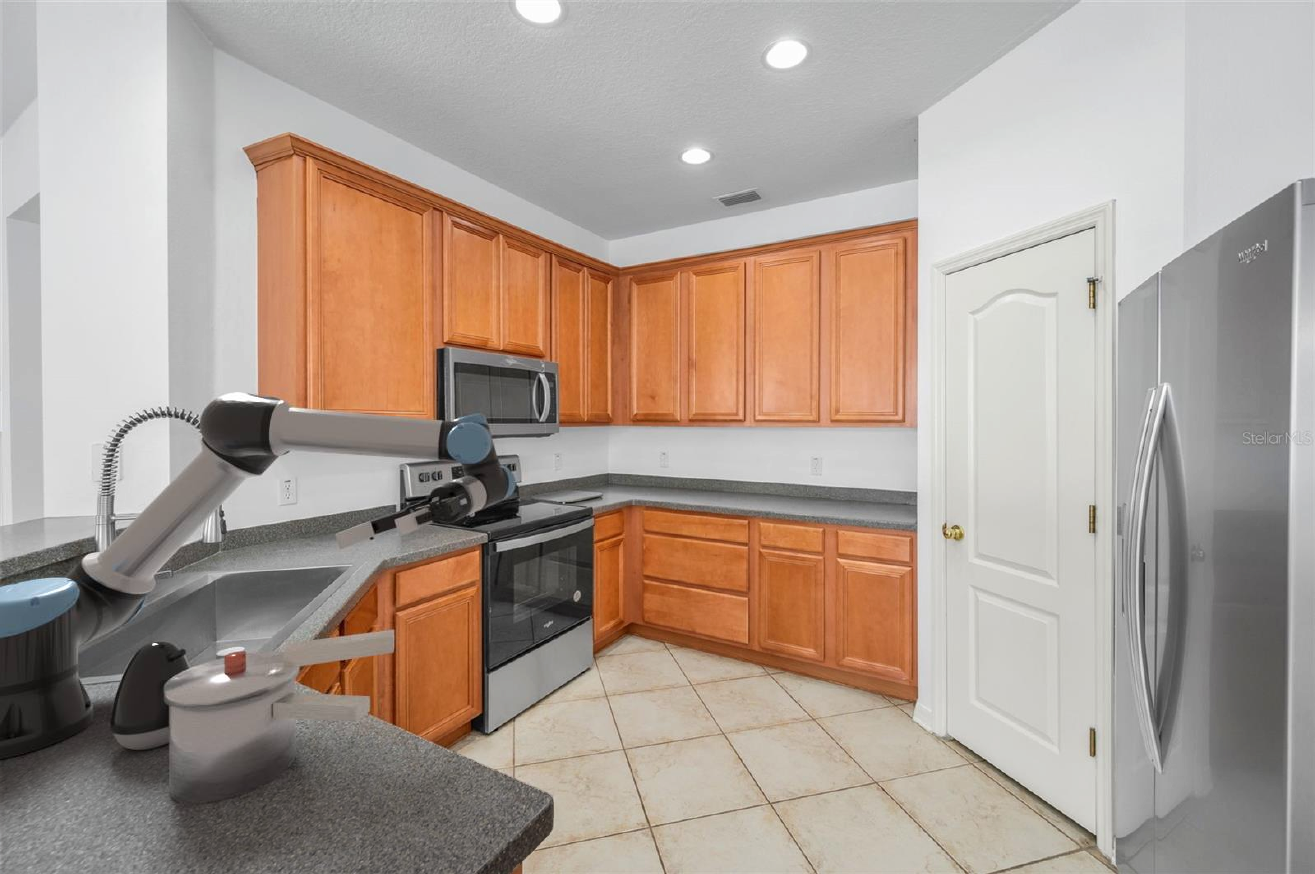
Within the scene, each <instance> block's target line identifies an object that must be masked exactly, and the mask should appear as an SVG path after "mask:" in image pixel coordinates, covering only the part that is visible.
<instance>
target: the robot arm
mask: <svg viewBox="0 0 1315 874" xmlns="http://www.w3.org/2000/svg"><path fill="white" fill-rule="evenodd" d="M199 430H200V432H201V433H200V434H201V436H202V437H201V439H200V444H201V452H199V454H198V455H197V456H196V457H194V459H193V460H192V461H190V463H189V464H188V465H187V466H186V467H185V468H184V469H182V471H181V472H180V473H179V474H177V476H175V477H174V479H173V480H172V481H171V482H170V483H169V484H168V485H167V486H166V487H165V488H164V489H163V490H162V491H161V492H160V493H159V495H157V496H156V497H155V498H154V499H153V500H152V501H151V502H150V503H149V505H147V506H146V507H145V508H144V510H143V511H142V512H140V514H139V515H138V516H137V517H136V518H135V519H134V520H133V521H132V522H131V523H130V524H129V525H128V526H127V527H126V528H125V529H124V530H123V531H122V532H121V533H120V534H119V535H118V536H117V537H116V538H115V539H113V541H112V542H111V543H110V544H109V545H108V546H107V547H106V548H105V549H104V550H103V551H96V552H90V553H88V554H86V555H85V556H84V557H83V558H81V560H80V561H79V562H78V563H77V564H76V565H75V566H74V567H73V568H72V569H71V570H70V571H69V572H68V573H67V574H66V575H65V576H64V577H45V578H35V579H30V580H29V579H28V580H25V581H19V582H18V583H15V584H6V585H3V586H0V760H3V759H8V758H13V757H16V756H20V755H23V754H27V753H30V752H33V751H36V750H40V749H43V748H46V747H49V746H51V745H54V744H56V743H59V742H62V741H63V740H66V739H69V738H70V737H73V736H74V735H76V734H78V733H80V732H81V731H83V730H85V729H86V728H87V727H88V726H90V725H91V724H92V722H93V721H94V704H93V702H92V701H91V699H90V696H89V694H88V692H87V691H86V689H85V686H84V683H82V680H81V678H80V676H79V647H82V646H83V645H86V644H87V643H89V642H92V641H93V640H96V639H98V638H100V637H103V636H104V635H107V634H110V633H113V632H115V631H117V630H119V629H120V628H122V627H125V626H126V625H127V624H128V623H129V622H131V621H132V620H133V619H135V618H136V617H137V616H138V614H140V612H142V610H143V608H144V606H145V605H146V602H147V600H148V595H149V594H150V593H151V592H152V591H153V589H155V587H156V584H157V583H156V579H155V575H156V574H157V572H158V571H160V570H161V568H162V567H163V566H164V565H165V564H166V563H167V562H168V561H169V560H170V559H171V558H172V557H173V556H174V555H175V554H176V553H177V552H178V551H179V550H180V548H181V547H182V546H184V544H185V543H186V542H187V541H188V540H189V539H190V538H191V537H193V535H194V534H195V533H196V532H197V530H199V529H200V528H201V526H202V525H203V524H204V523H205V522H206V521H207V520H208V519H209V518H210V517H211V516H212V515H213V513H215V512H216V510H217V509H219V508H220V507H221V505H222V504H223V503H224V502H225V501H226V500H227V499H228V498H229V497H230V496H231V495H232V493H234V492H235V491H236V490H237V488H238V487H240V485H241V484H242V483H243V482H244V481H245V480H247V478H250V477H251V478H253V477H260V476H262V475H263V474H264V473H265V471H267V469H269V468H270V466H272V465H273V464H274V463H275V461H277V459H278V458H279V457H281V456H284V455H287V454H289V453H290V452H291V451H292V452H294V451H295V452H307V453H308V452H309V453H321V454H323V453H324V454H338V455H353V456H355V455H356V456H365V457H366V456H370V457H381V458H383V457H384V458H396V459H397V458H398V459H412V460H413V459H416V460H428V461H429V460H430V461H442V462H453V463H454V462H455V463H460V464H461V465H460V466H461V467H462V472H463V474H464V476H463V477H459V478H456V479H454V480H451V481H448V482H446V483H443V484H439V485H437V486H435V487H434V488H433V489H432V490H431V492H430V493H429V495H428V499H424V500H421V501H419V502H418V503H416V504H413V505H409V506H407V507H405V508H403V509H402V510H398V511H395V512H393V513H392V512H391V513H388V514H385V515H383V516H380V517H376V518H374V519H371V520H368V521H365V520H364V521H362V522H361V523H360V524H358V525H356V526H353V527H350V528H347V529H344V530H340V532H339V531H338V532H336V533H335V534H334V535H335V538H336V541H337V544H338V547H339V550H343V549H346V548H348V547H351V546H354V545H356V544H358V543H361V542H363V541H366V540H368V539H369V541H372V540H375V538H374V537H375V535H378V534H381V533H384V532H387V531H389V530H393V529H396V530H397V532H398V535H399V537H401V536H405V535H409V534H410V533H412V532H415V531H418V530H420V529H422V528H425V527H427V526H429V525H431V524H433V522H440V523H443V524H452V523H455V522H457V521H460V520H462V519H463V518H465V517H467V516H469V517H471V518H472V517H475V515H476V514H475V513H476V512H479V511H482V510H484V509H486V508H489V507H491V506H494V505H495V504H498V503H501V502H502V501H504V500H505V499H507V498H509V497H510V496H512V494H513V493H514V492H515V489H516V478H515V475H514V473H513V472H512V471H511V470H510V469H509V468H508V467H506V466H504V465H501V463H500V462H501V461H499V458H498V455H497V451H496V447H495V444H494V441H493V435H492V433H491V429H490V426H489V423H488V421H487V418H486V415H484V414H483V413H480V412H479V413H473V414H468V415H465V416H463V417H458V418H455V419H452V420H451V421H449V420H442V419H440V420H439V419H428V418H417V417H407V416H406V417H405V416H394V415H383V414H382V415H381V414H371V413H370V414H369V413H360V412H347V411H337V410H336V411H335V410H327V409H326V410H325V409H313V408H303V407H294V406H293V405H292V404H290V403H289V402H288V401H286V400H283V399H280V398H278V397H276V396H269V395H259V394H254V393H249V392H232V393H227V394H224V395H221V396H218V397H217V398H215V399H213V400H211V402H210V403H208V405H206V407H205V408H204V409H203V411H202V413H201V416H200V418H199Z"/></svg>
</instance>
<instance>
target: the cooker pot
mask: <svg viewBox="0 0 1315 874" xmlns="http://www.w3.org/2000/svg"><path fill="white" fill-rule="evenodd" d="M369 712H371V697H370V695H369V696H368V695H347V694H330V693H329V694H327V693H323V694H322V693H304V692H303V693H301V692H296V677H295V678H294V679H293V680H291V681H290V682H288V683H287V684H285V685H283V686H281V687H280V688H277V689H275V690H273V691H271V692H268V693H265V694H263V695H260V696H257V697H254V698H250V699H247V700H243V701H239V702H235V703H231V704H226V705H220V706H214V707H205V708H177V707H172V706H169V743H168V753H169V754H168V758H169V759H168V760H169V761H168V765H169V766H168V772H169V773H168V783H169V785H168V786H169V787H168V788H169V789H168V791H169V796H170V798H171V799H173V800H174V801H177V802H178V803H182V804H192V805H193V804H195V805H196V804H206V803H207V804H208V803H214V802H218V801H223V800H227V799H231V798H235V797H238V796H241V795H243V794H246V793H249V792H251V791H254V790H257V789H259V788H260V786H261V787H263V786H264V785H267V784H269V783H270V782H272V781H274V780H276V779H277V778H278V777H280V776H281V775H283V774H284V773H285V772H286V771H288V769H289V768H290V767H291V766H292V765H293V764H294V762H295V760H296V755H297V754H296V753H297V752H296V751H297V749H296V747H297V746H296V745H297V742H296V741H297V739H296V737H297V736H296V729H297V728H296V724H297V723H296V721H297V720H299V719H300V720H314V721H316V720H317V721H333V722H335V721H337V722H351V723H352V722H353V723H354V722H355V723H356V722H358V721H359V720H360V719H362V718H363V717H364V716H365V715H367V713H369ZM296 719H297V720H296ZM284 771H285V772H284ZM271 780H272V781H271Z"/></svg>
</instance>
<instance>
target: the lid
mask: <svg viewBox="0 0 1315 874" xmlns="http://www.w3.org/2000/svg"><path fill="white" fill-rule="evenodd" d="M394 650H395V629H389V630H380V631H373V632H372V631H371V632H364V633H358V634H350V635H343V636H342V635H341V636H335V637H329V638H328V637H327V638H319V639H312V640H305V641H297V642H296V641H295V642H290V643H287V644H286V646H285V649H284V650H283V651H277V650H275V651H274V650H273V651H271V650H270V651H257V652H256V651H255V652H249V653H247V652H246V650H245V651H238V652H233V653H229V654H227V655H225V657H224V658H221V659H217V660H216V659H214V660H211V661H207V662H204V663H200V664H198V665H196V666H195V665H194V666H193V667H190V669H188V670H185V671H183V672H181V673H179V674H177V675H175V676H174V677H172V678H171V679H170V680H168V681H167V682H166V684H165V685H164V702H165V703H166V704H167V705H169V706H172V707H177V708H205V707H214V706H220V705H226V704H231V703H235V702H239V701H243V700H247V699H250V698H254V697H257V696H260V695H263V694H265V693H268V692H271V691H273V690H275V689H277V688H280V687H281V686H283V685H285V684H287V683H288V682H290V681H291V680H293V679H294V678H295V679H296V677H297V676H298V675H299V673H300V667H304V666H310V665H311V666H312V665H318V664H325V663H333V662H339V661H344V660H352V659H358V658H366V657H373V656H380V655H386V654H393V653H394Z"/></svg>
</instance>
